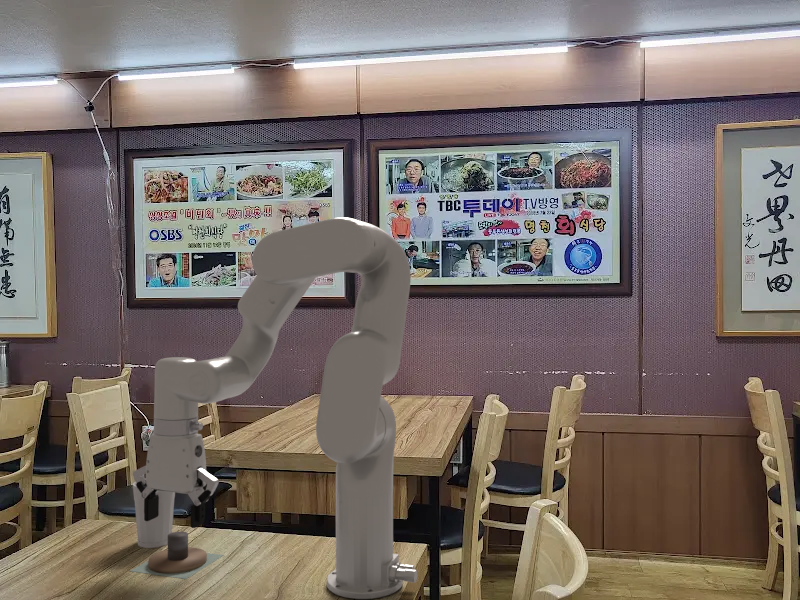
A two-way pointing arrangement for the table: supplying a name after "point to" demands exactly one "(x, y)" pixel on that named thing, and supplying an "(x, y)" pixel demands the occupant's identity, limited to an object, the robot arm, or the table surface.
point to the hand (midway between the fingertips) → (174, 522)
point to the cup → (154, 520)
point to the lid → (177, 556)
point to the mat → (184, 575)
